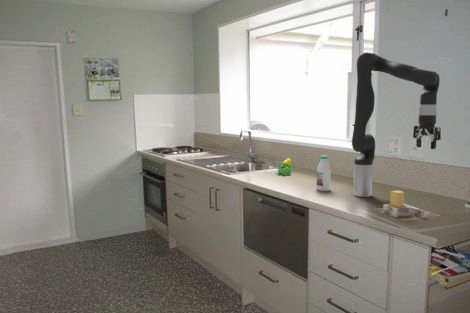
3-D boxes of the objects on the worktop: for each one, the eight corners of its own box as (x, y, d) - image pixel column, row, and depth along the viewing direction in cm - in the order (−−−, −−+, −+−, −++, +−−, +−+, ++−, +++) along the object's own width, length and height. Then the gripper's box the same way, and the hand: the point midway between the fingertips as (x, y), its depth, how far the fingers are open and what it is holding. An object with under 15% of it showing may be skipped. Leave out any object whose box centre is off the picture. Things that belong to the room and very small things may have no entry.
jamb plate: (372, 211, 183) (372, 201, 182) (406, 206, 190) (407, 197, 189) (404, 223, 164) (404, 213, 164) (440, 217, 171) (441, 207, 170)
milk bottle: (328, 188, 232) (328, 154, 229) (331, 191, 224) (332, 156, 221) (315, 188, 232) (315, 154, 229) (318, 191, 224) (318, 156, 221)
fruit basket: (276, 173, 282) (276, 157, 281) (287, 172, 285) (287, 156, 283) (282, 175, 271) (282, 159, 270) (294, 174, 274) (294, 158, 272)
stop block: (389, 212, 177) (390, 191, 175) (397, 211, 178) (397, 190, 176) (396, 215, 173) (397, 193, 171) (403, 214, 174) (404, 192, 173)
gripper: (409, 114, 191) (408, 147, 193) (433, 114, 177) (431, 150, 180) (422, 113, 193) (420, 146, 196) (446, 114, 180) (444, 149, 182)
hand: (425, 148), depth 188 cm, fingers open, 8 cm apart
